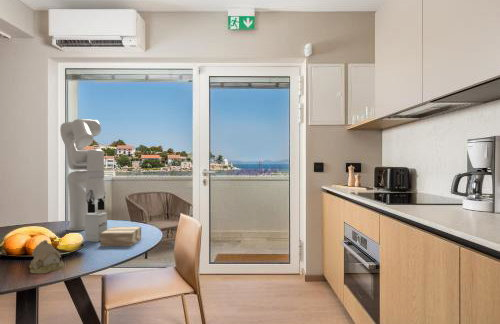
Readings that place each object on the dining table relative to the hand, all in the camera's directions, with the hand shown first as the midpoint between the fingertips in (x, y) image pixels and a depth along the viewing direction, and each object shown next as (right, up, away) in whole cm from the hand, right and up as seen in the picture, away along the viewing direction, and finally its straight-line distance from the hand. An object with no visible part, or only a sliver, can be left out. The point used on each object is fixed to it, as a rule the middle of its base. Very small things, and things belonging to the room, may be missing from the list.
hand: (96, 211), depth 169 cm
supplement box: (0, -14, +1) cm, 14 cm away
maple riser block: (+13, -14, -4) cm, 20 cm away
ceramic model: (-1, -15, -41) cm, 43 cm away
